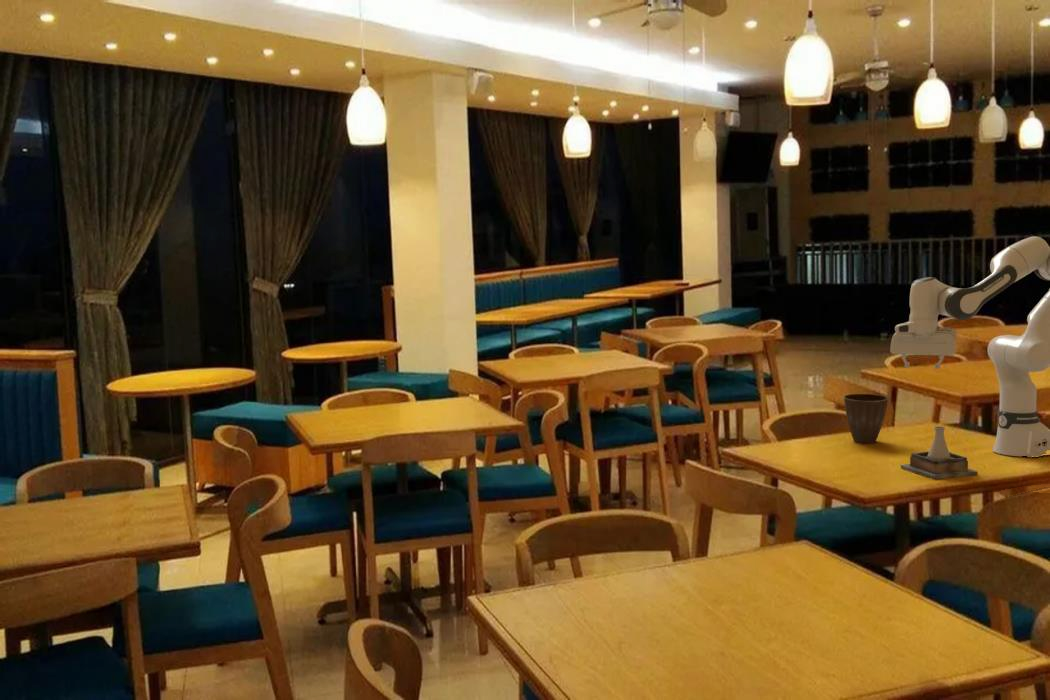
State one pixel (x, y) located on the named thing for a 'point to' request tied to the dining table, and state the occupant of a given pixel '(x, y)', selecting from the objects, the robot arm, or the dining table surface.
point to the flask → (939, 446)
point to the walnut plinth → (939, 466)
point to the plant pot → (865, 416)
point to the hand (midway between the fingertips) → (922, 368)
